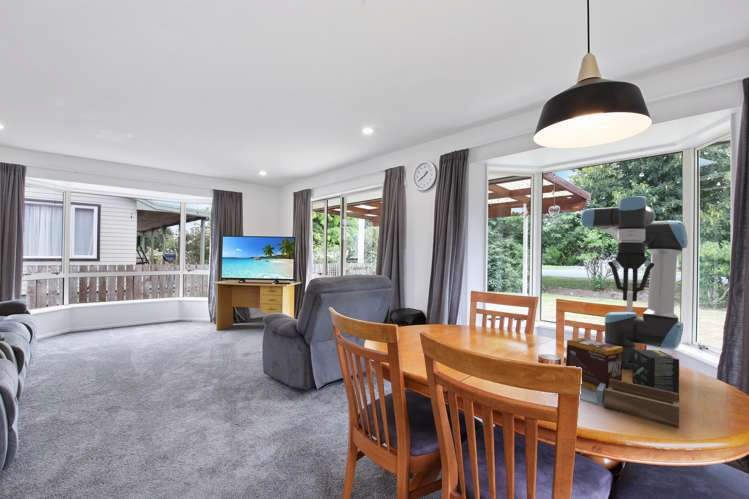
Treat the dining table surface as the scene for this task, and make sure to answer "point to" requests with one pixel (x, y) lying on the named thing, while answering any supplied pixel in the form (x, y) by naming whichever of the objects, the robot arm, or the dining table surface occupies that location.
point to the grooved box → (642, 402)
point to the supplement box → (595, 361)
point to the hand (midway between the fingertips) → (629, 310)
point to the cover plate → (594, 395)
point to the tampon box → (656, 370)
